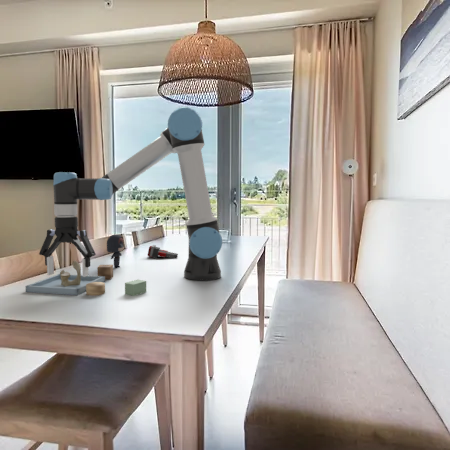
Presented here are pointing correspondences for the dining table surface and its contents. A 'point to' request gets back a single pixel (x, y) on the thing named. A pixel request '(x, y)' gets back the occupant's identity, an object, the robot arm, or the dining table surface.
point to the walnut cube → (105, 271)
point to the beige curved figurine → (66, 275)
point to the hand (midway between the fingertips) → (68, 275)
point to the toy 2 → (160, 252)
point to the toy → (115, 248)
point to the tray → (55, 285)
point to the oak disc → (95, 288)
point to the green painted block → (135, 287)
